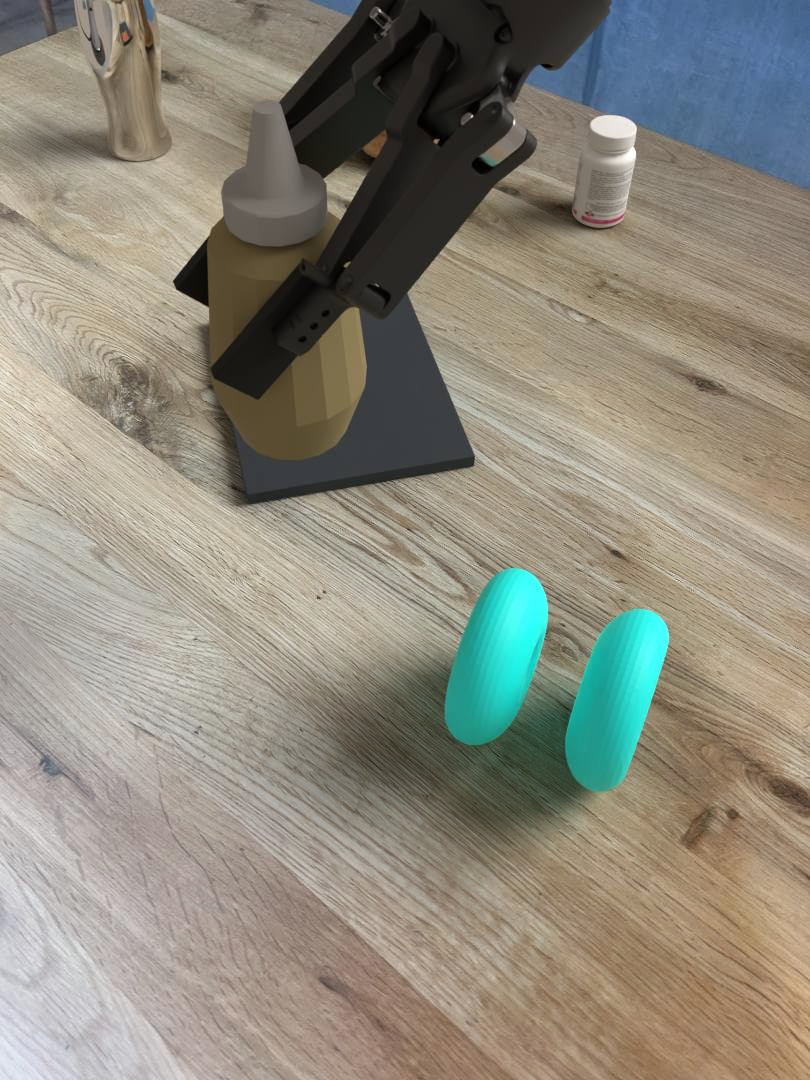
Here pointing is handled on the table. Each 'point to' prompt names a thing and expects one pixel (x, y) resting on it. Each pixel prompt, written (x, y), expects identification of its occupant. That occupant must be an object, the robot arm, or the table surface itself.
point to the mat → (376, 422)
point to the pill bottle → (605, 172)
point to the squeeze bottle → (254, 276)
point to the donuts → (509, 664)
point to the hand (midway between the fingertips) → (214, 338)
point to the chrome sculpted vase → (126, 73)
